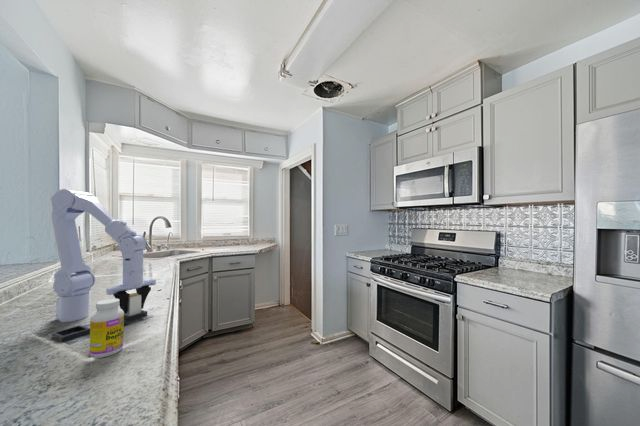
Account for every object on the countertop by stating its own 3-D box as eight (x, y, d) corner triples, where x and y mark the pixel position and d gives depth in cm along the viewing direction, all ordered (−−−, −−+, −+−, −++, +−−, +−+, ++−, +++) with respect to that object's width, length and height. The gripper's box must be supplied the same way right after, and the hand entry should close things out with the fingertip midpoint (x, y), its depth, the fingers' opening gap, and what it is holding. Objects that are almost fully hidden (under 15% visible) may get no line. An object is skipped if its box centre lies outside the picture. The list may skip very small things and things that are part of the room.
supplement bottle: (104, 360, 62) (105, 306, 62) (82, 357, 63) (83, 304, 63) (129, 347, 68) (130, 298, 69) (109, 344, 69) (110, 296, 70)
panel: (45, 337, 74) (45, 330, 74) (130, 312, 94) (130, 307, 94) (68, 347, 68) (68, 340, 68) (154, 318, 88) (154, 312, 88)
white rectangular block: (123, 317, 87) (123, 294, 88) (135, 313, 91) (135, 291, 91) (129, 319, 86) (130, 295, 86) (141, 315, 89) (141, 292, 89)
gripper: (115, 275, 80) (114, 319, 80) (161, 268, 94) (160, 305, 93) (103, 274, 84) (102, 316, 83) (149, 266, 97) (149, 303, 96)
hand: (132, 310), depth 88 cm, fingers open, 4 cm apart
